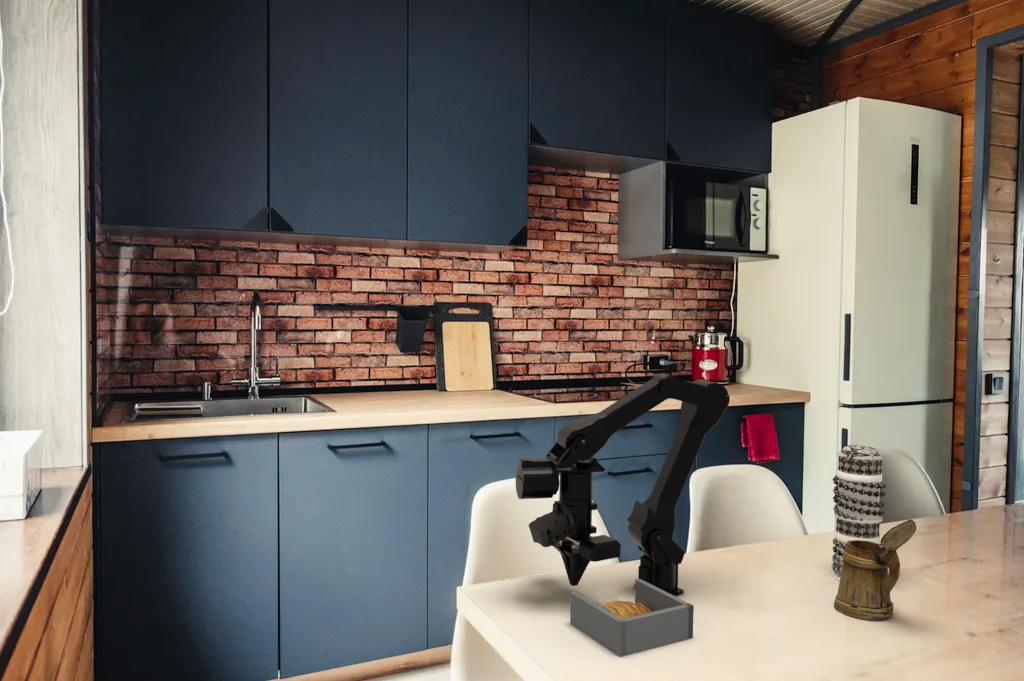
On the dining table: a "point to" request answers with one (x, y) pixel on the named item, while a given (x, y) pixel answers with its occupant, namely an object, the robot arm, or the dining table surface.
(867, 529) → the decorative candle
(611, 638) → the box
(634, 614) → the pastry
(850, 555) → the wooden mug
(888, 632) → the dining table surface
